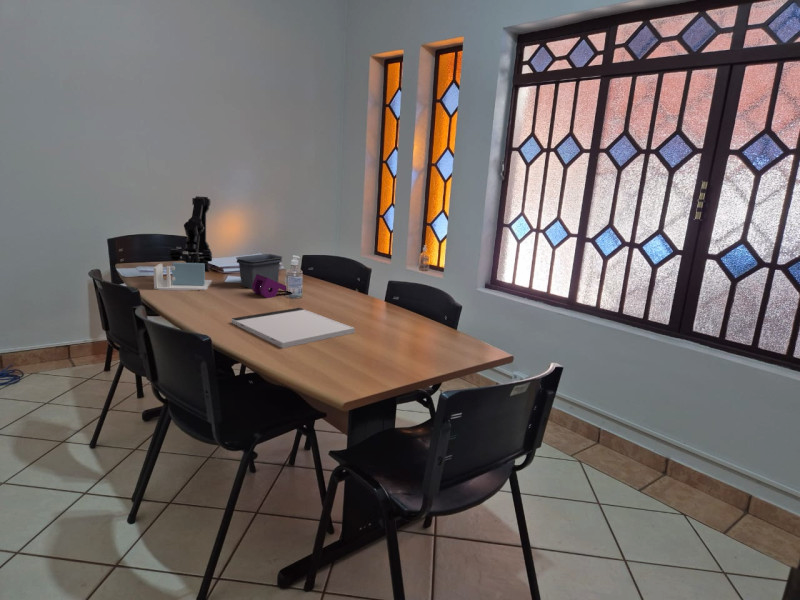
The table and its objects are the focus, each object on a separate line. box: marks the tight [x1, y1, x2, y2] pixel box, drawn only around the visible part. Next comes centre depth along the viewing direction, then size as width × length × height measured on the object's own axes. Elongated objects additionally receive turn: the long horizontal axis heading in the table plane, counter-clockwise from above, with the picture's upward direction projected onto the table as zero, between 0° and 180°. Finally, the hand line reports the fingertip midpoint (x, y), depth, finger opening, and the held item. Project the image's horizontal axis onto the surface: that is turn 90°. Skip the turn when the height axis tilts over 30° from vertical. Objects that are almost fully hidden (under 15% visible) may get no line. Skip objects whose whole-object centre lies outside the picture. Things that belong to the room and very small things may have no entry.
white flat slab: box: [230, 307, 356, 349], centre depth 199 cm, size 35×2×31 cm
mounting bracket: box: [251, 274, 287, 299], centre depth 247 cm, size 9×8×18 cm
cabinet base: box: [152, 262, 213, 291], centre depth 251 cm, size 19×22×10 cm
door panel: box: [170, 262, 206, 285], centre depth 248 cm, size 4×14×10 cm, turn 101°
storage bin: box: [235, 253, 284, 290], centre depth 262 cm, size 21×16×14 cm
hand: (189, 269), depth 250 cm, fingers closed
